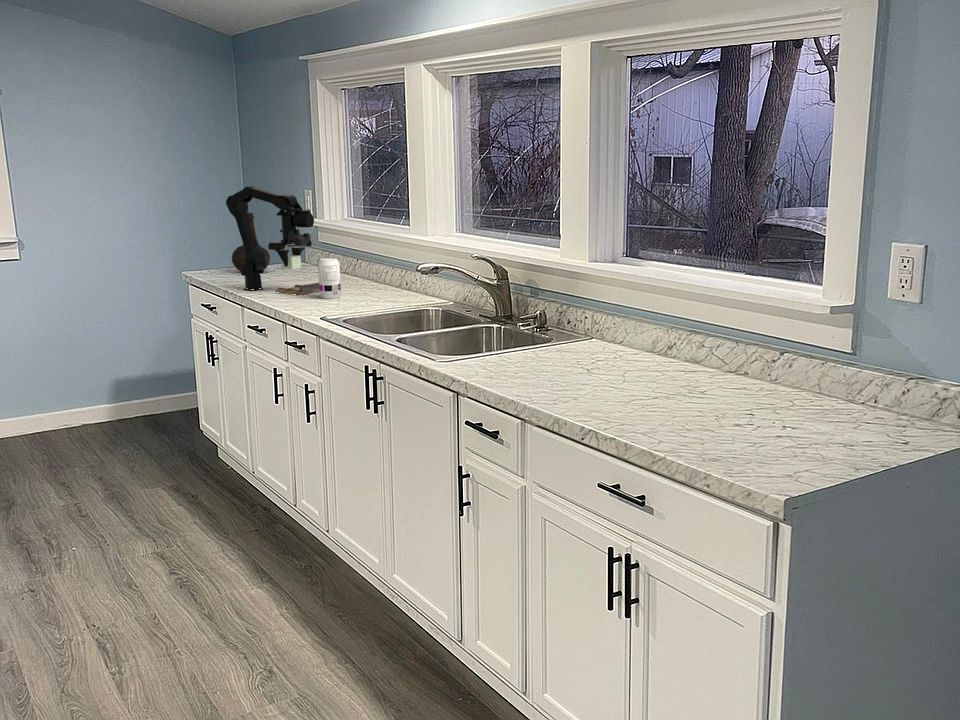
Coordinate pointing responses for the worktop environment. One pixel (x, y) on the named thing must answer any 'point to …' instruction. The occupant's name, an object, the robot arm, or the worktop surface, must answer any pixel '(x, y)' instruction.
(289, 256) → the block
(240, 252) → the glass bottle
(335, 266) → the supplement can
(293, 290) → the channel board
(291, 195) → the robot arm
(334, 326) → the worktop surface
